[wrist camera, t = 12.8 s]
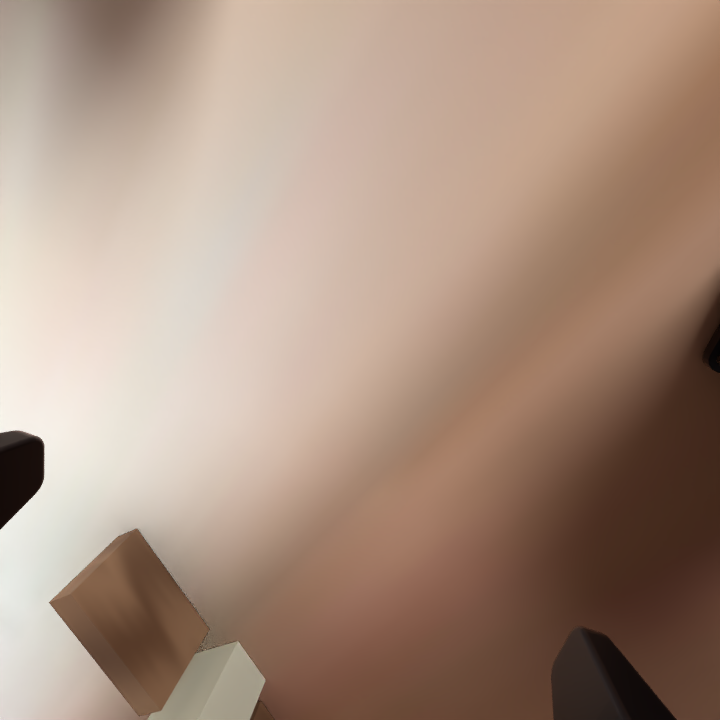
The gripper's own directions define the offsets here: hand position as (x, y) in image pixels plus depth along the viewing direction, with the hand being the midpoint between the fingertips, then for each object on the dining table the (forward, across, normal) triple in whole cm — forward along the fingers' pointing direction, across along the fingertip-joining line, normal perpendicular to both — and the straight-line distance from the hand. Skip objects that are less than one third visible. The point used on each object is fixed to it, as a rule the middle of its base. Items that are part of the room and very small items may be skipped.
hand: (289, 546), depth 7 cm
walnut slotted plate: (+12, +4, +22) cm, 25 cm away
